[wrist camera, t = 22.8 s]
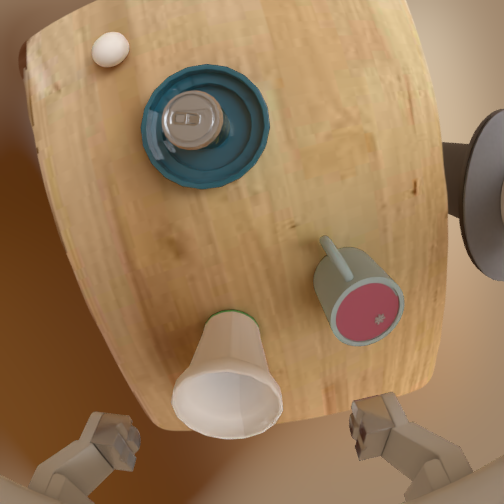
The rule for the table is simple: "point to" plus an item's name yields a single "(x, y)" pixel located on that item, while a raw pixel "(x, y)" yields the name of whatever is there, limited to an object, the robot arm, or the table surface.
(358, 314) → the mug
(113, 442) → the robot arm
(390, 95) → the table surface
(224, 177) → the teal bowl
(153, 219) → the table surface
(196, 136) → the green soda can
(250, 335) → the cup
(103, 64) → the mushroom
